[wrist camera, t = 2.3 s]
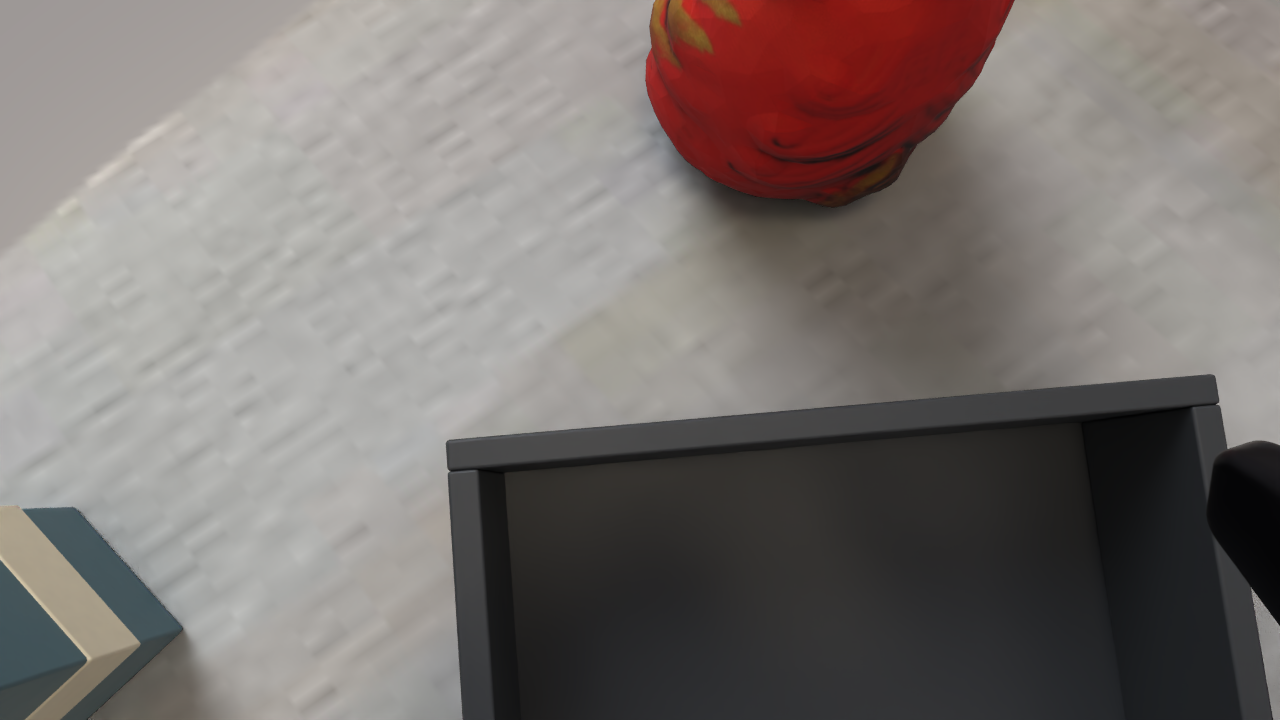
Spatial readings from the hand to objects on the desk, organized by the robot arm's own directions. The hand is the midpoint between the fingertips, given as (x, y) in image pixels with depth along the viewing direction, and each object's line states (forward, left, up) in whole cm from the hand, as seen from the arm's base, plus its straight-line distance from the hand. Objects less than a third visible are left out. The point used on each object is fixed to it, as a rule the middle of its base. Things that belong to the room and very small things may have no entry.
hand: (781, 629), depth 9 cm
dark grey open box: (-5, -3, -14) cm, 15 cm away
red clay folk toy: (+11, -4, -14) cm, 19 cm away
